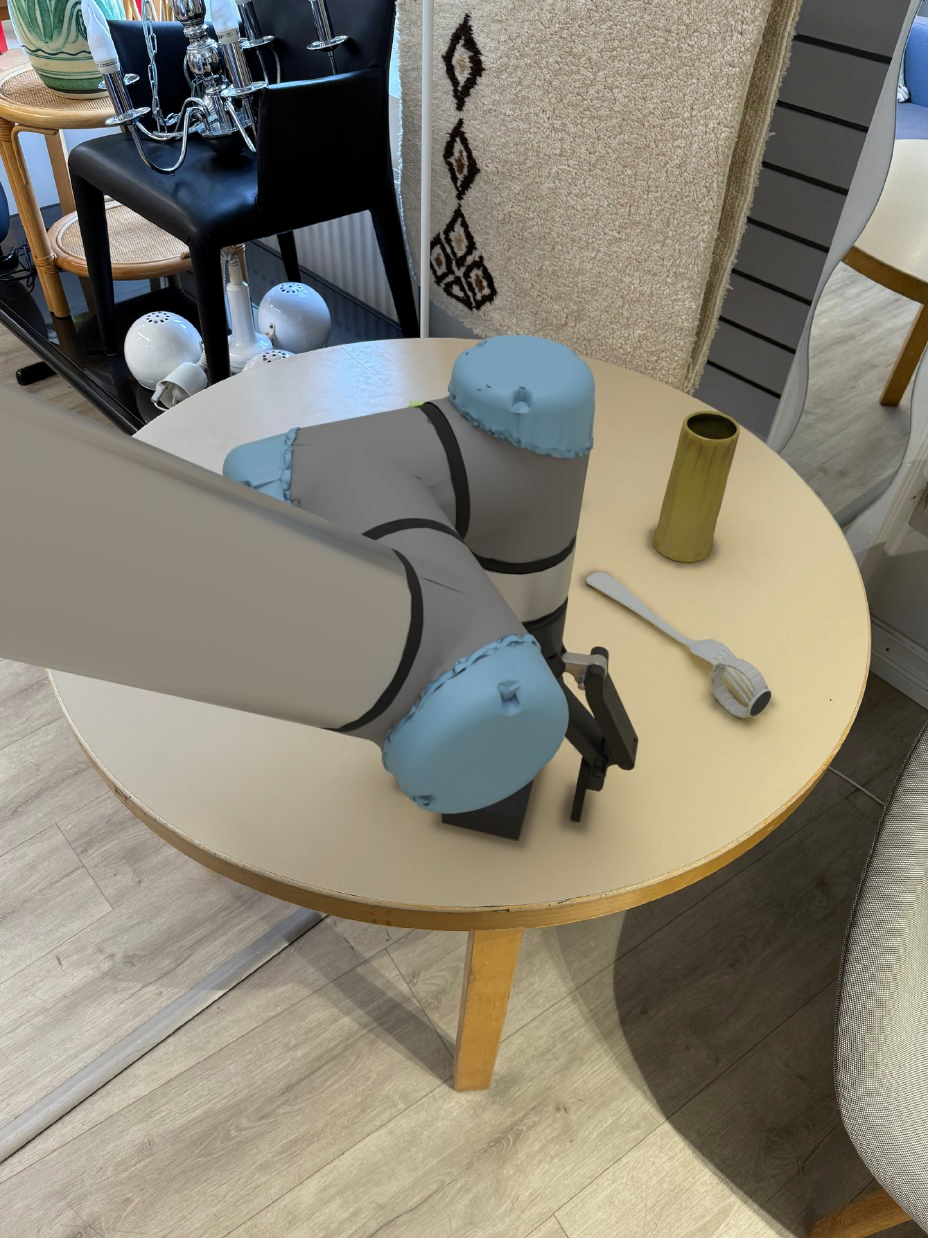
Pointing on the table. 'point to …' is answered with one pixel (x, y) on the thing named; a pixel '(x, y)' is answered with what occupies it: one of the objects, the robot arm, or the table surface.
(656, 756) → the table surface
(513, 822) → the charcoal pad
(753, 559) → the table surface
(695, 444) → the vase
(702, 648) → the fork
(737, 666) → the ring
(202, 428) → the table surface
